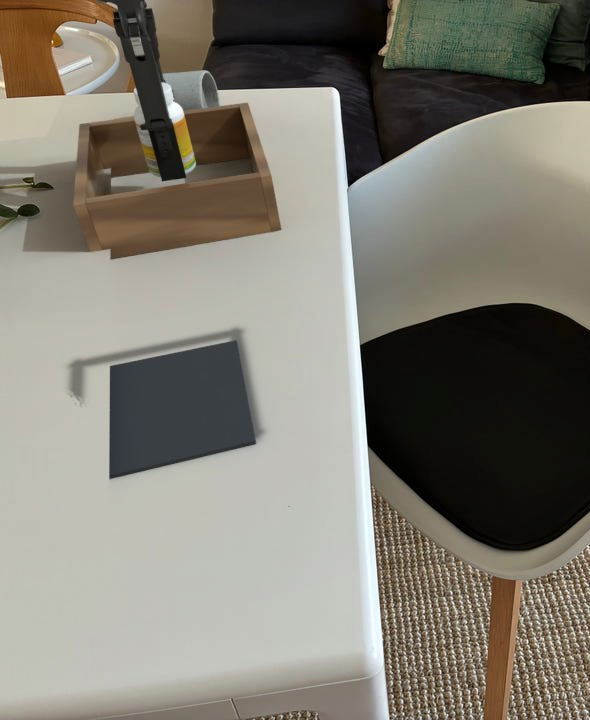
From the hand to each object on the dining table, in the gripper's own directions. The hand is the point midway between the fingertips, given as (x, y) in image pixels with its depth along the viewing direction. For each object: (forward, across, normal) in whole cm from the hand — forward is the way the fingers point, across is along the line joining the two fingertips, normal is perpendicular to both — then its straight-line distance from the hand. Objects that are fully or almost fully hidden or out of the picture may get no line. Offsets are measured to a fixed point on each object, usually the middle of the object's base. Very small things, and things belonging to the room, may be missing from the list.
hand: (172, 166), depth 93 cm
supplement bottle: (+1, 0, 0) cm, 1 cm away
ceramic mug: (+5, +21, -2) cm, 21 cm away
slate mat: (+4, -37, +4) cm, 38 cm away
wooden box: (+5, 0, 0) cm, 5 cm away
